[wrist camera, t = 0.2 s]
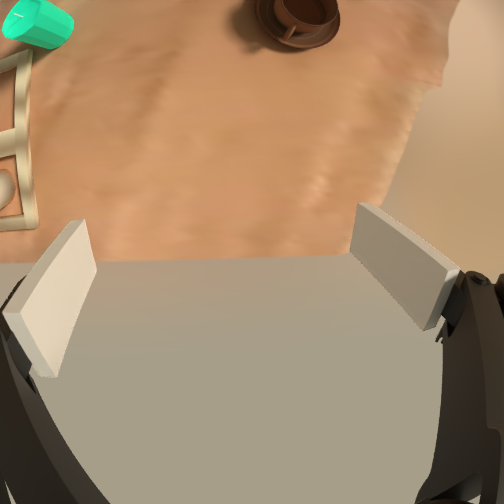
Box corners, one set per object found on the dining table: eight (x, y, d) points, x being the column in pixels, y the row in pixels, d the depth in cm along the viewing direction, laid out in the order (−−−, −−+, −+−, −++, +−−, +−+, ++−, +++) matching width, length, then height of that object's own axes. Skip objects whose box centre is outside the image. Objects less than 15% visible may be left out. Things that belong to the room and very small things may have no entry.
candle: (43, 57, 25) (-3, 47, 14) (38, 27, 22) (-6, 12, 11) (77, 36, 25) (37, 16, 14) (71, 6, 22) (34, -18, 11)
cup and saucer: (331, 59, 33) (351, 53, 27) (248, 43, 30) (256, 31, 25) (336, -6, 27) (355, -19, 22) (256, -25, 25) (266, -43, 20)
